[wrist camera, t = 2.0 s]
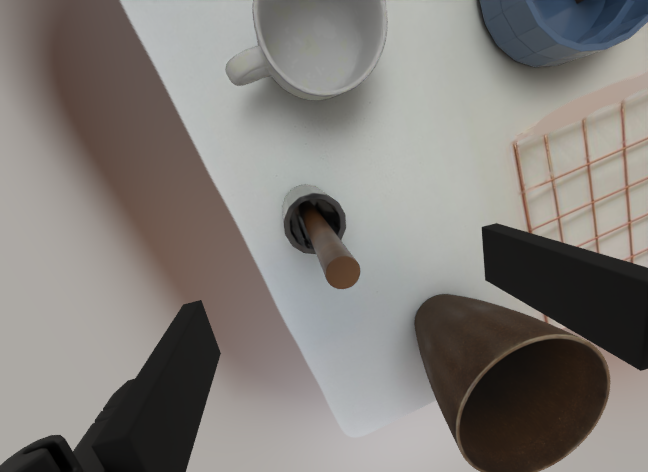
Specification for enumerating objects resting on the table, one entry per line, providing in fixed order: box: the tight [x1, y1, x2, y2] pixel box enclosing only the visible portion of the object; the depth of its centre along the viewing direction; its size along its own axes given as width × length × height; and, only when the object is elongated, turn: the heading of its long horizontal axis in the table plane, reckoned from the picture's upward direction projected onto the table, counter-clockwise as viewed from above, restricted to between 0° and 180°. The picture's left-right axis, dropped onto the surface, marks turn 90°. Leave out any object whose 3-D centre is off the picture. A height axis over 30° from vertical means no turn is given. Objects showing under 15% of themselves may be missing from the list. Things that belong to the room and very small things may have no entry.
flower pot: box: [415, 294, 610, 472], centre depth 34 cm, size 15×15×16 cm
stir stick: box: [299, 201, 360, 289], centre depth 25 cm, size 2×2×20 cm
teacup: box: [226, 0, 387, 100], centre depth 27 cm, size 14×11×8 cm
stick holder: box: [282, 184, 346, 254], centre depth 31 cm, size 5×6×9 cm
